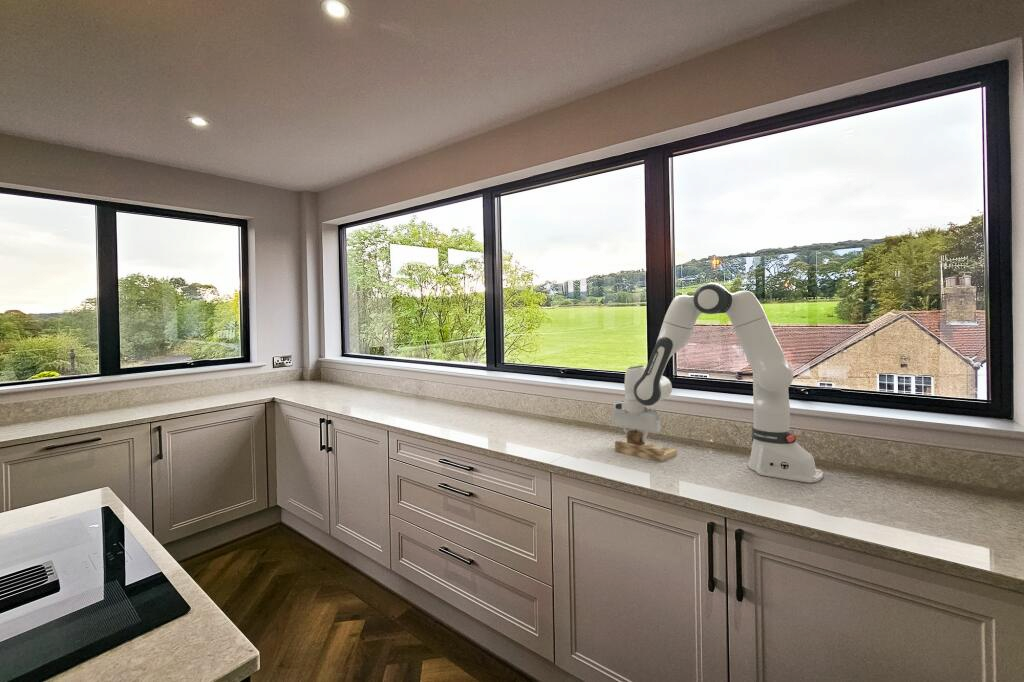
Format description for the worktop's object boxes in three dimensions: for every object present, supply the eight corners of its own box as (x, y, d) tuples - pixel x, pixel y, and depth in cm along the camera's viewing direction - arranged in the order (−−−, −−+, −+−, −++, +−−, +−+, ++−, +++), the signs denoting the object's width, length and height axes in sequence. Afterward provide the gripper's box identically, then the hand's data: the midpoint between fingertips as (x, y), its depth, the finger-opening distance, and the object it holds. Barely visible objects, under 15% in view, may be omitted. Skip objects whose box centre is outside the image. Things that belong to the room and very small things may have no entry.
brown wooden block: (644, 443, 192) (644, 429, 191) (638, 446, 188) (638, 432, 188) (633, 441, 195) (633, 427, 195) (627, 444, 192) (627, 429, 192)
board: (676, 454, 184) (676, 444, 184) (661, 462, 175) (661, 451, 175) (631, 445, 198) (631, 435, 198) (615, 451, 190) (615, 441, 189)
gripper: (663, 408, 186) (663, 443, 187) (618, 401, 200) (618, 434, 201) (655, 410, 181) (655, 446, 182) (610, 403, 196) (610, 437, 197)
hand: (635, 440), depth 192 cm, fingers closed on brown wooden block, 5 cm apart
